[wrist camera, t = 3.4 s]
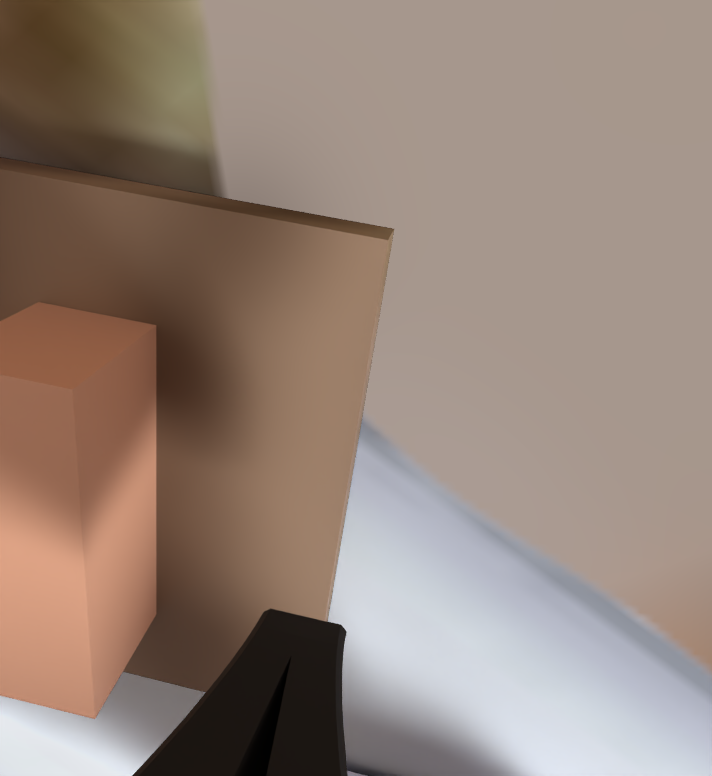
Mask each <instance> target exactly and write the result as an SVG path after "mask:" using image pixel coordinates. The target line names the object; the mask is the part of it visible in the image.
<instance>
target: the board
mask: <svg viewBox="0 0 712 776" xmlns="http://www.w3.org/2000/svg"><path fill="white" fill-rule="evenodd" d="M393 233H394V229H392V228H387V227H381V226H375V225H370V224H365V223H359V222H353V221H347V220H342V219H337V218H331V217H326V216H320V215H315V214H309V213H304V212H298V211H293V210H287V209H282V208H276V207H271V206H265V205H260V204H254V203H249V202H243V201H237V200H232V199H227V198H221V197H216V196H210V195H205V194H199V193H194V192H188V191H183V190H177V189H172V188H166V187H161V186H155V185H150V184H144V183H139V182H133V181H128V180H122V179H117V178H111V177H106V176H100V175H95V174H89V173H84V172H78V171H73V170H67V169H62V168H56V167H51V166H45V165H40V164H34V163H29V162H23V161H18V160H12V159H7V158H1V157H0V321H2V320H4V319H6V318H8V317H10V316H12V315H14V314H16V313H18V312H20V311H22V310H24V309H26V308H28V307H30V306H32V305H34V304H36V303H38V302H41V303H46V304H52V305H57V306H62V307H67V308H72V309H77V310H82V311H87V312H92V313H97V314H102V315H107V316H112V317H117V318H122V319H127V320H132V321H137V322H143V323H148V324H153V325H156V616H155V617H154V619H153V621H152V623H151V624H150V626H149V628H148V629H147V631H146V633H145V634H144V636H143V638H142V640H141V641H140V643H139V645H138V646H137V648H136V650H135V652H134V653H133V655H132V657H131V658H130V660H129V662H128V663H127V665H126V667H125V669H124V670H123V672H127V673H131V674H135V675H139V676H143V677H147V678H151V679H155V680H159V681H163V682H167V683H171V684H175V685H179V686H183V687H187V688H191V689H195V690H199V691H203V692H207V691H208V689H209V688H210V687H211V686H212V684H213V683H214V682H215V681H216V680H217V678H218V677H219V676H220V675H221V673H222V672H223V671H224V669H225V668H226V667H227V665H228V664H229V663H230V661H231V660H232V659H233V657H234V656H235V655H236V653H237V652H238V650H239V649H240V648H241V646H242V645H243V643H244V642H245V640H246V639H247V637H248V636H249V634H250V633H251V631H252V630H253V628H254V627H255V625H256V624H257V622H258V620H259V619H260V617H261V615H262V614H263V612H264V611H266V610H268V609H270V608H271V609H275V610H279V611H284V612H288V613H292V614H296V615H301V616H305V617H309V618H313V619H318V620H322V621H326V622H327V621H328V615H329V609H330V604H331V598H332V592H333V586H334V580H335V574H336V568H337V562H338V557H339V551H340V545H341V539H342V533H343V527H344V521H345V515H346V510H347V504H348V498H349V492H350V486H351V480H352V474H353V468H354V463H355V457H356V451H357V445H358V439H359V433H360V427H361V421H362V416H363V410H364V404H365V398H366V392H367V386H368V380H369V374H370V369H371V363H372V357H373V351H374V344H375V339H376V333H377V327H378V322H379V316H380V310H381V304H382V298H383V292H384V286H385V280H386V275H387V268H388V263H389V257H390V251H391V245H392V239H393Z"/></svg>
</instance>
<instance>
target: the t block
mask: <svg viewBox="0 0 712 776" xmlns="http://www.w3.org/2000/svg"><path fill="white" fill-rule="evenodd" d="M155 616H156V325H153V324H148V323H143V322H137V321H132V320H127V319H122V318H117V317H112V316H107V315H102V314H97V313H92V312H87V311H82V310H77V309H72V308H67V307H62V306H57V305H52V304H46V303H41V302H38V303H36V304H34V305H32V306H30V307H28V308H26V309H24V310H22V311H20V312H18V313H16V314H14V315H12V316H10V317H8V318H6V319H4V320H2V321H0V695H1V696H5V697H9V698H13V699H17V700H21V701H25V702H29V703H33V704H37V705H41V706H45V707H49V708H53V709H57V710H61V711H65V712H69V713H73V714H77V715H81V716H85V717H89V718H93V719H95V718H96V716H97V715H98V713H99V711H100V710H101V708H102V706H103V704H104V703H105V701H106V699H107V698H108V696H109V694H110V692H111V691H112V689H113V687H114V686H115V684H116V682H117V681H118V679H119V677H120V675H121V674H122V672H123V670H124V669H125V667H126V665H127V663H128V662H129V660H130V658H131V657H132V655H133V653H134V652H135V650H136V648H137V646H138V645H139V643H140V641H141V640H142V638H143V636H144V634H145V633H146V631H147V629H148V628H149V626H150V624H151V623H152V621H153V619H154V617H155Z"/></svg>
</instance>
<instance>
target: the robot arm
mask: <svg viewBox="0 0 712 776" xmlns="http://www.w3.org/2000/svg"><path fill="white" fill-rule="evenodd" d="M345 637H346V630H345V629H344V628H343V627H342V626H341V625H339V624H335V623H331V622H326V621H322V620H318V619H313V618H309V617H305V616H301V615H296V614H292V613H288V612H284V611H279V610H275V609H271V608H270V609H268V610H266V611H264V612H263V614H262V615H261V617H260V619H259V620H258V622H257V624H256V625H255V627H254V628H253V630H252V631H251V633H250V634H249V636H248V637H247V639H246V640H245V642H244V643H243V645H242V646H241V648H240V649H239V650H238V652H237V653H236V655H235V656H234V657H233V659H232V660H231V661H230V663H229V664H228V665H227V667H226V668H225V669H224V671H223V672H222V673H221V675H220V676H219V677H218V678H217V680H216V681H215V682H214V683H213V684H212V686H211V687H210V688H209V689H208V691H207V692H206V693H205V694H204V696H203V697H202V698H201V699H200V700H199V702H198V703H197V704H196V705H195V707H194V708H193V709H192V710H191V711H190V713H189V714H188V715H187V716H186V717H185V719H184V720H183V721H182V722H181V723H180V724H179V725H178V726H177V728H176V729H175V730H174V731H173V732H172V733H171V734H170V735H169V736H168V738H167V739H166V740H165V741H164V742H163V743H162V744H161V745H160V746H159V747H158V749H157V750H156V751H155V752H154V753H153V754H152V755H151V756H150V757H149V759H148V760H147V761H146V762H145V763H144V764H143V765H142V766H141V767H140V768H139V769H138V770H137V771H136V772H135V773H134V774H133V775H132V776H366V775H362V774H358V773H354V772H350V771H347V766H346V754H345V742H344V730H343V713H342V662H343V650H344V642H345Z"/></svg>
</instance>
